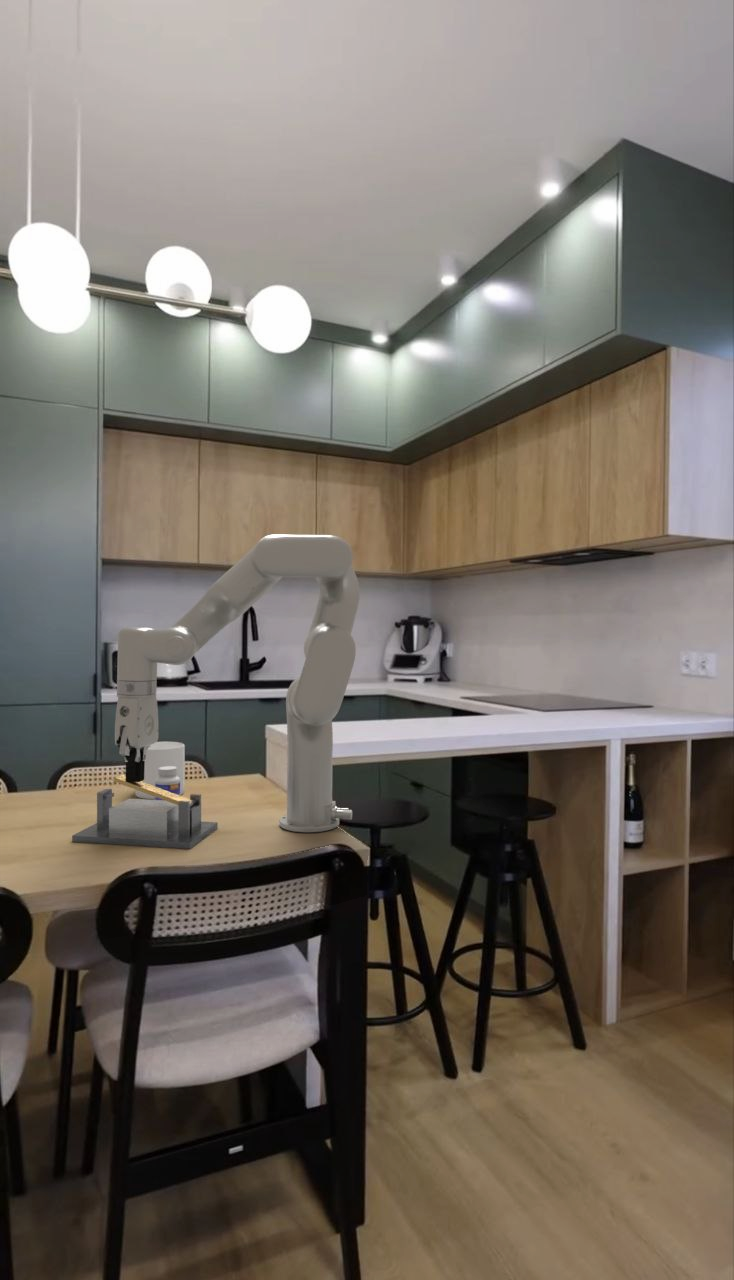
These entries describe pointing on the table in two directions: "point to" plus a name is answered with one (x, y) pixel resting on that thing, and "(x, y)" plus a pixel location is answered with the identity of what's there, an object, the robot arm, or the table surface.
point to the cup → (163, 764)
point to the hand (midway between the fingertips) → (134, 780)
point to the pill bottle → (168, 780)
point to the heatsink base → (144, 839)
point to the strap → (153, 791)
